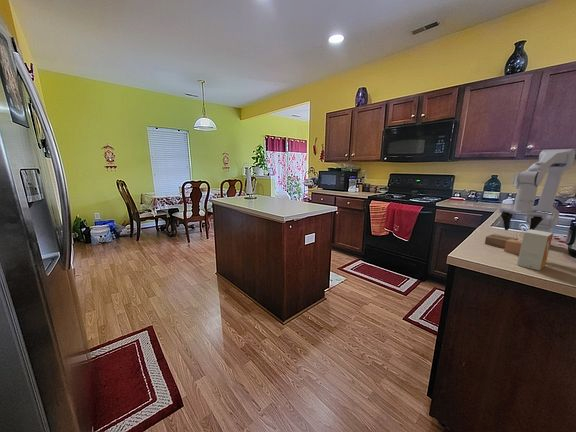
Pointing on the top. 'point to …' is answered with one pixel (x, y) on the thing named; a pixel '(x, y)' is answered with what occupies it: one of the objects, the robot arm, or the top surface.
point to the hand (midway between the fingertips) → (517, 231)
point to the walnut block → (497, 240)
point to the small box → (534, 249)
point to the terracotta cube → (513, 246)
